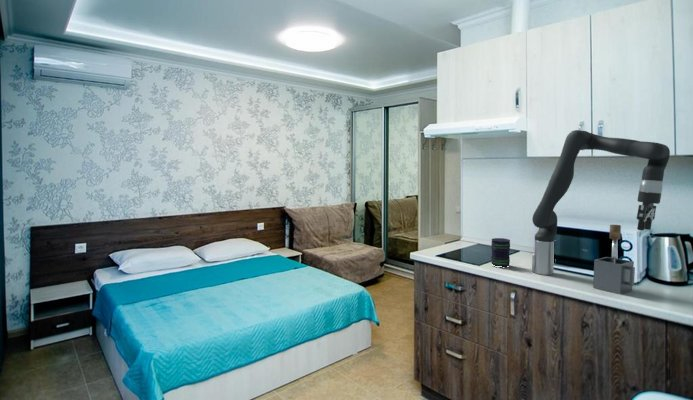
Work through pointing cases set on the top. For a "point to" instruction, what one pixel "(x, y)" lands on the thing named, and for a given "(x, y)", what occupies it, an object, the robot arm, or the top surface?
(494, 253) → the storage jar
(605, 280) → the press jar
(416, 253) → the top surface
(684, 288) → the top surface
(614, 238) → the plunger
